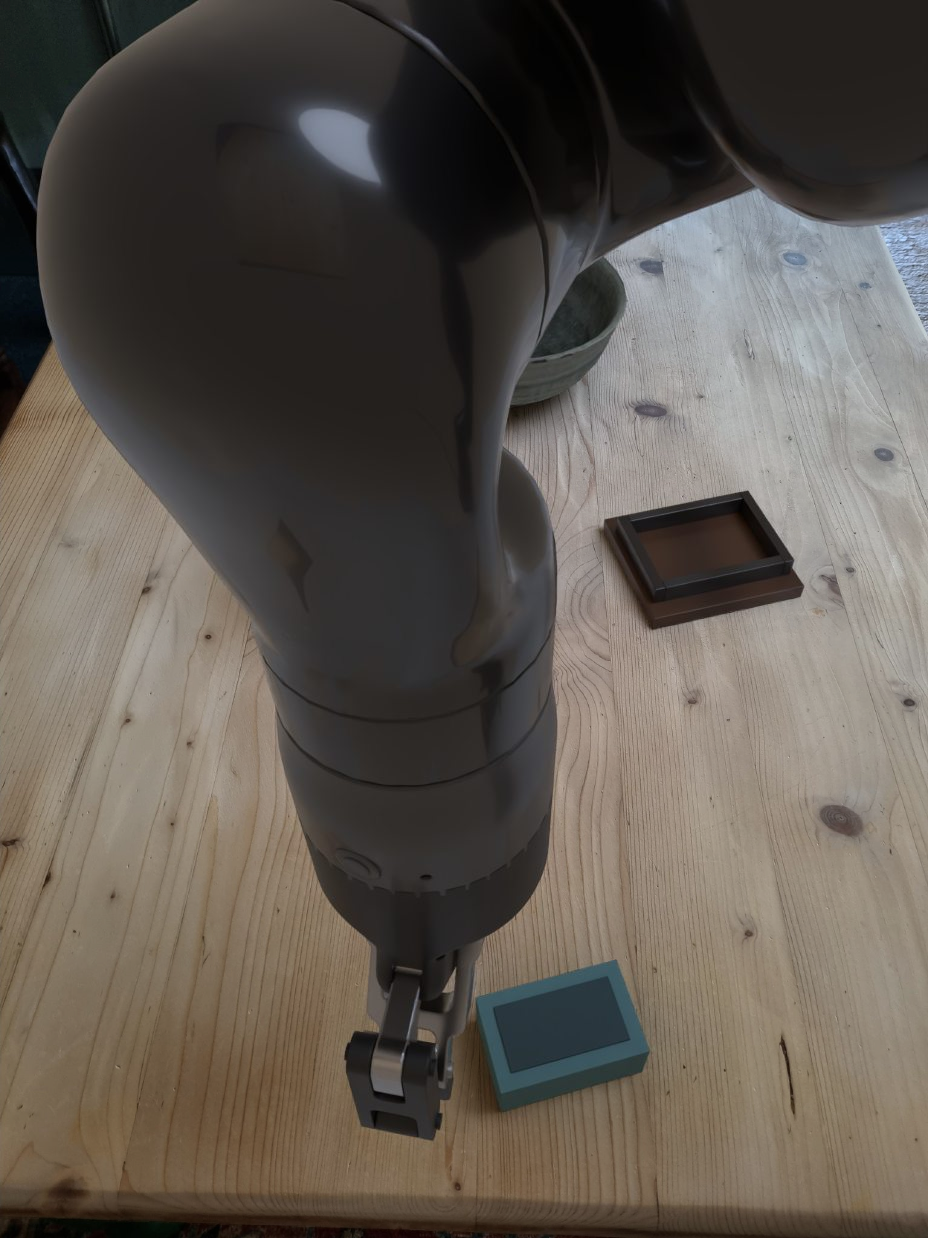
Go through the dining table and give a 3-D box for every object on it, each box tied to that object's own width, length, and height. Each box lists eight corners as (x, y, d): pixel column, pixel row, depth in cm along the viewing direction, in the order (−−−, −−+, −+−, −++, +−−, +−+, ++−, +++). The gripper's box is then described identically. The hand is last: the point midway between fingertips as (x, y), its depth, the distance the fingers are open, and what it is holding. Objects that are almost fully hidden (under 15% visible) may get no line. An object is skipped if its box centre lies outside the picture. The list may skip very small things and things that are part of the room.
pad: (610, 982, 57) (616, 958, 54) (642, 1072, 53) (650, 1050, 51) (476, 1019, 56) (475, 996, 53) (500, 1113, 52) (500, 1093, 50)
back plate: (739, 501, 82) (745, 477, 80) (801, 596, 75) (809, 572, 73) (602, 529, 81) (605, 505, 78) (652, 629, 74) (657, 605, 72)
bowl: (465, 299, 103) (462, 206, 96) (651, 354, 96) (665, 258, 88) (353, 408, 92) (340, 313, 84) (556, 480, 85) (562, 383, 77)
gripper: (514, 1044, 23) (509, 1190, 35) (581, 596, 32) (559, 837, 45) (211, 987, 24) (308, 1148, 37) (358, 570, 33) (397, 812, 46)
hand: (446, 977), depth 41 cm, fingers open, 8 cm apart
